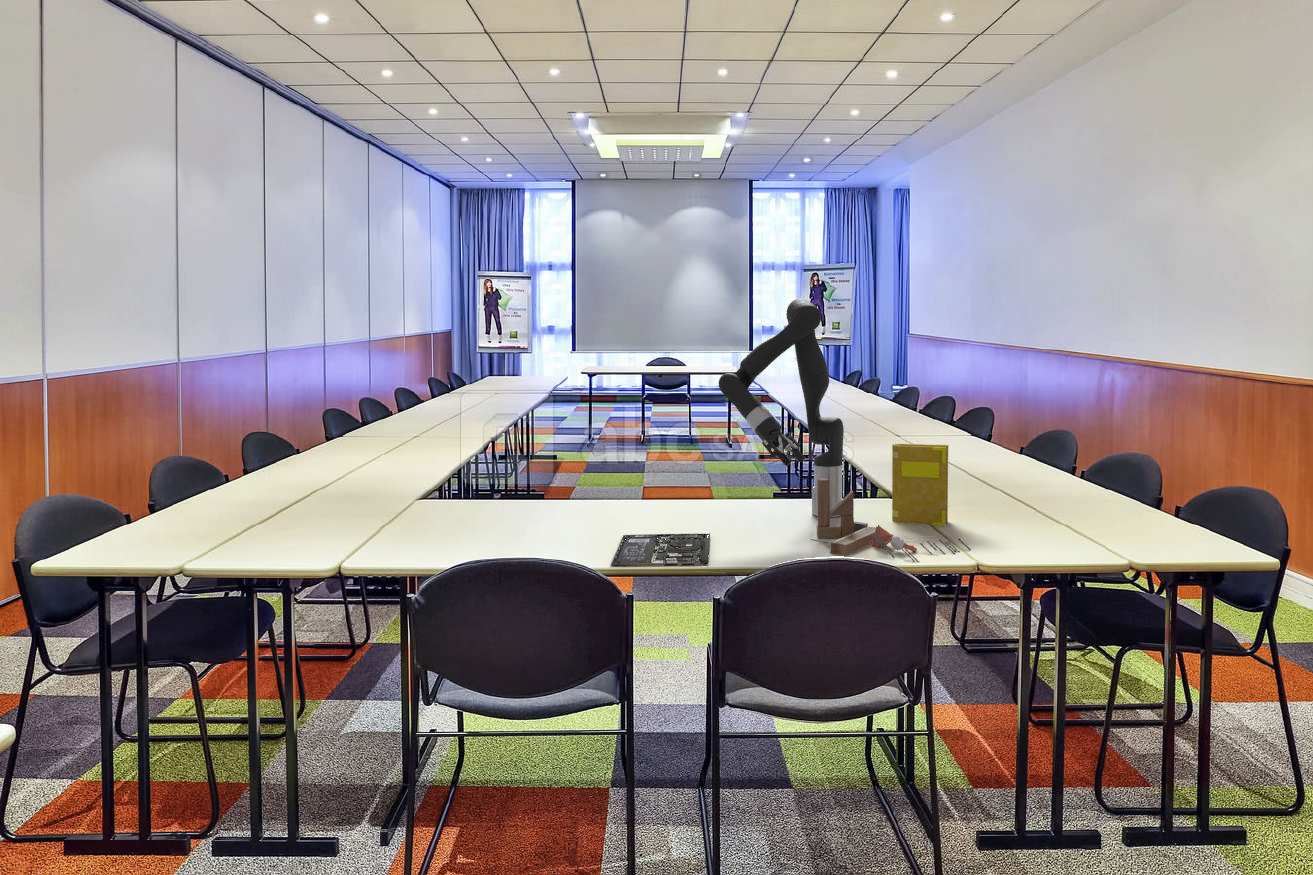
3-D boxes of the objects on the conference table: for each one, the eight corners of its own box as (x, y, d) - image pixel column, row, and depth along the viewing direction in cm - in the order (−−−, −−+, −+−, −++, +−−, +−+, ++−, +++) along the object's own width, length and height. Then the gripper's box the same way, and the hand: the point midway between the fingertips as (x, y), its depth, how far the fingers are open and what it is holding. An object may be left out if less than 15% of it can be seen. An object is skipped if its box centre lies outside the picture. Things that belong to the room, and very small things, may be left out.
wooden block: (853, 538, 280) (853, 479, 278) (817, 539, 281) (817, 480, 279) (852, 536, 284) (852, 477, 282) (816, 536, 285) (816, 478, 283)
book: (947, 521, 301) (948, 444, 298) (944, 526, 295) (945, 447, 292) (894, 518, 308) (894, 443, 305) (890, 522, 302) (890, 446, 299)
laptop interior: (622, 538, 293) (622, 533, 293) (711, 536, 291) (711, 531, 291) (607, 570, 259) (607, 563, 258) (708, 568, 256) (708, 561, 256)
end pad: (810, 539, 282) (810, 538, 282) (823, 534, 288) (823, 533, 288) (846, 544, 275) (846, 543, 275) (858, 539, 281) (858, 538, 281)
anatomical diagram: (866, 525, 267) (937, 512, 276) (860, 549, 271) (930, 536, 280) (909, 567, 251) (982, 552, 260) (902, 593, 255) (974, 577, 264)
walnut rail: (816, 550, 269) (816, 537, 268) (854, 534, 287) (854, 521, 287) (846, 555, 263) (846, 541, 262) (883, 538, 281) (883, 525, 281)
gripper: (758, 417, 285) (791, 457, 279) (782, 413, 296) (814, 451, 290) (744, 434, 289) (776, 473, 283) (768, 429, 300) (800, 466, 294)
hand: (796, 462), depth 287 cm, fingers open, 8 cm apart
